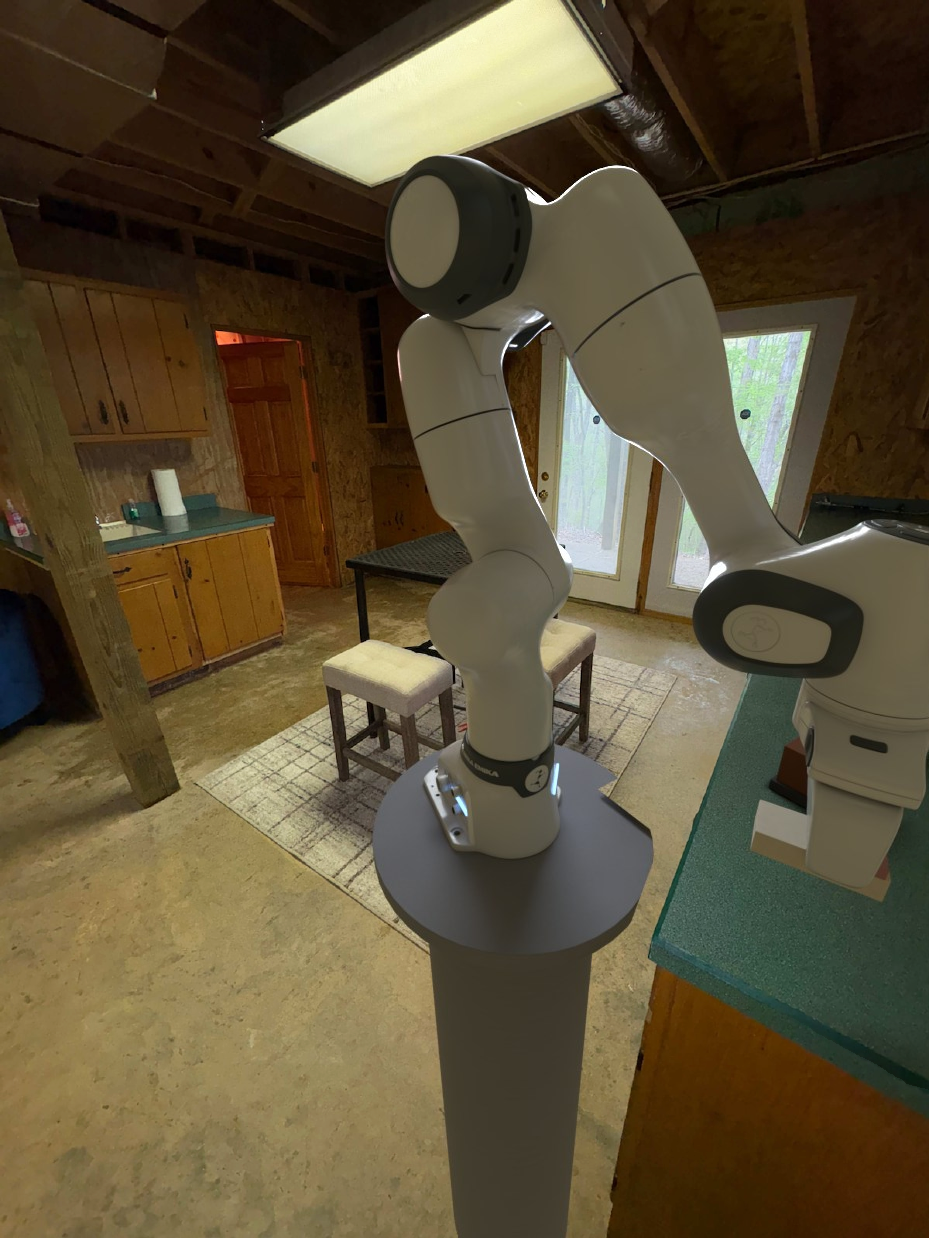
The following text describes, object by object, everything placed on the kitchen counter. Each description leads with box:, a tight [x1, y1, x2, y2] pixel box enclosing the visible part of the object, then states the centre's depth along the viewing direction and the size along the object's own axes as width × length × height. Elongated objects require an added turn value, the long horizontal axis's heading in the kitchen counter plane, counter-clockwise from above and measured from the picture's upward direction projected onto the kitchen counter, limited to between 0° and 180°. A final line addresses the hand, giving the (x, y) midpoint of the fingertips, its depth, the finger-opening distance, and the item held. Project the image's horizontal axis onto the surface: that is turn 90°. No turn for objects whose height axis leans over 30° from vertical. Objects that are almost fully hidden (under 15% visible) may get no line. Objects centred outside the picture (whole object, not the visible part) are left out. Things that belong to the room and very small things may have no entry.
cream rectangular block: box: [749, 799, 892, 903], centre depth 45 cm, size 10×5×4 cm, turn 56°
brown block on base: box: [768, 735, 808, 809], centre depth 70 cm, size 15×7×8 cm, turn 122°
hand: (816, 843), depth 45 cm, fingers closed on cream rectangular block, 5 cm apart
